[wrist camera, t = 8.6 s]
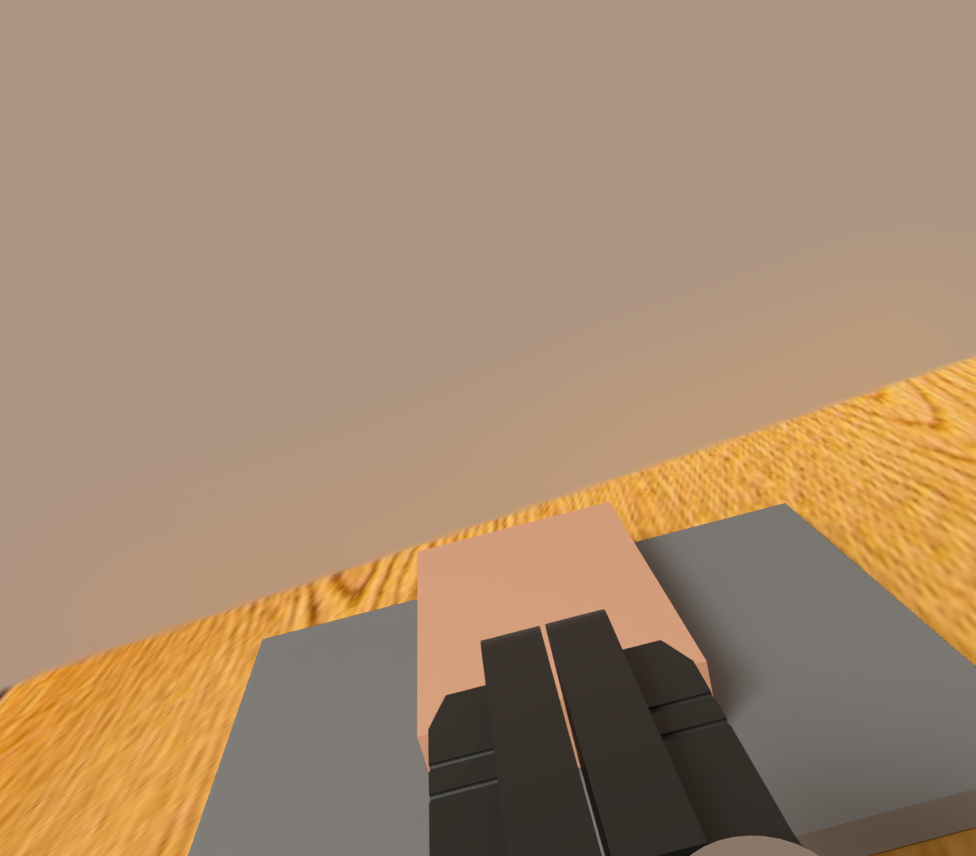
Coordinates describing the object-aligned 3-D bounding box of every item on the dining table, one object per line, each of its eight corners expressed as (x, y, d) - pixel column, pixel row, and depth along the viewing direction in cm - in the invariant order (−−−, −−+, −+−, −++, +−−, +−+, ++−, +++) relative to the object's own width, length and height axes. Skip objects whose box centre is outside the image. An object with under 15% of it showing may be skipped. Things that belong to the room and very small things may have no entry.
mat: (788, 527, 30) (785, 503, 30) (1084, 798, 17) (1083, 759, 16) (271, 662, 30) (262, 639, 30) (152, 1045, 17) (134, 1011, 16)
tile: (720, 737, 19) (620, 556, 29) (706, 661, 19) (609, 501, 28) (441, 810, 19) (433, 604, 29) (416, 737, 19) (417, 551, 28)
